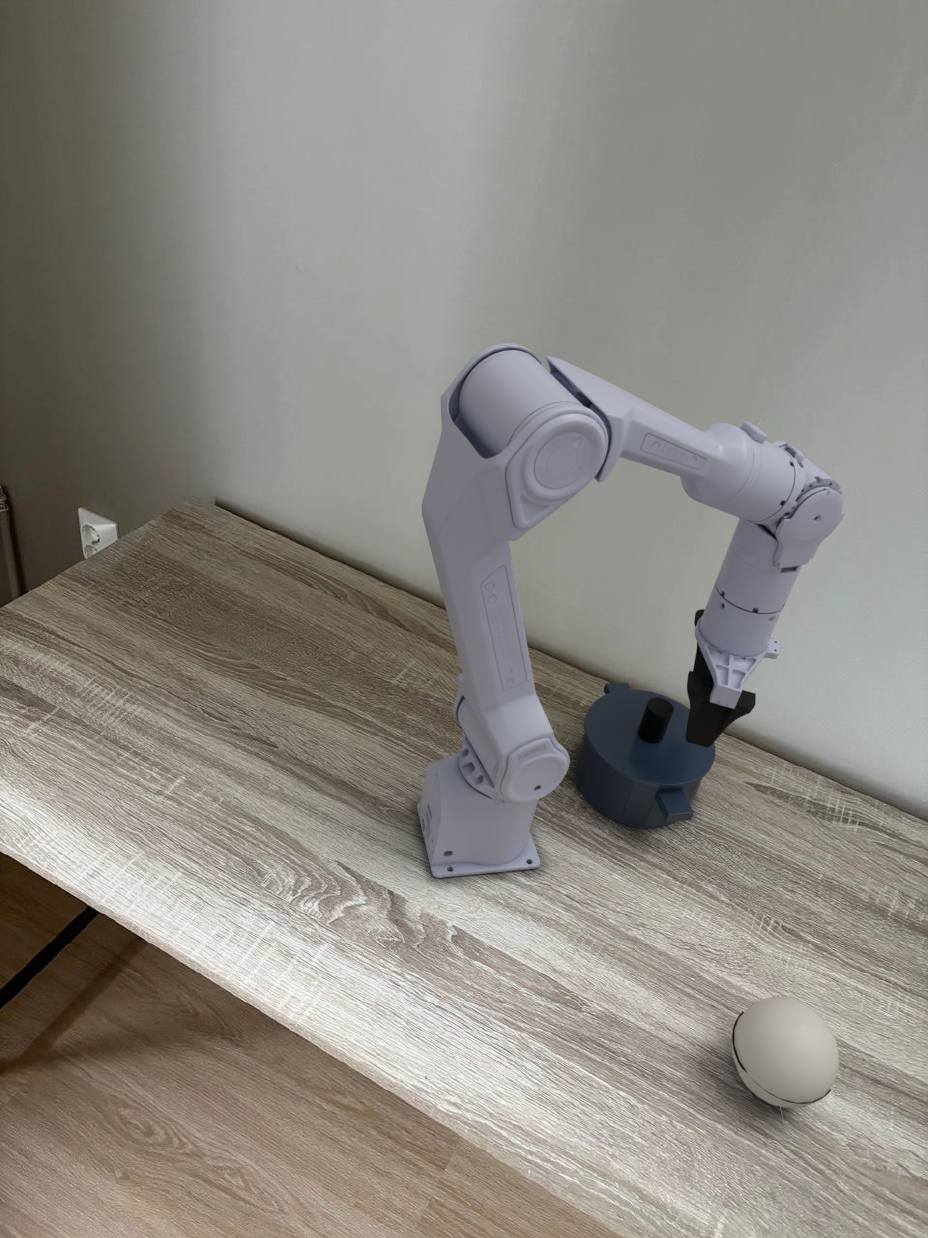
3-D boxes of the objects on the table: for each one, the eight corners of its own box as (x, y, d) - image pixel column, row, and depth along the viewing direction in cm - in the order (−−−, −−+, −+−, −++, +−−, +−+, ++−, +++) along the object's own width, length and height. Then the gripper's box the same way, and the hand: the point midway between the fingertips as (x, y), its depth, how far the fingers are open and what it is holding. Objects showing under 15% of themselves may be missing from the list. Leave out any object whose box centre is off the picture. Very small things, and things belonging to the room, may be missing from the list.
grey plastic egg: (729, 1012, 76) (760, 959, 71) (823, 1058, 74) (861, 1006, 70) (697, 1128, 68) (730, 1077, 64) (802, 1183, 67) (843, 1133, 62)
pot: (606, 857, 86) (622, 813, 83) (552, 723, 99) (564, 679, 95) (722, 846, 89) (743, 803, 86) (655, 717, 102) (670, 675, 98)
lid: (607, 798, 85) (620, 760, 82) (565, 700, 94) (576, 663, 91) (733, 788, 88) (750, 751, 85) (681, 694, 97) (695, 659, 94)
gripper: (800, 659, 73) (742, 783, 81) (797, 559, 84) (746, 676, 93) (707, 633, 74) (659, 758, 82) (717, 537, 85) (673, 656, 94)
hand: (700, 713), depth 87 cm, fingers open, 7 cm apart
